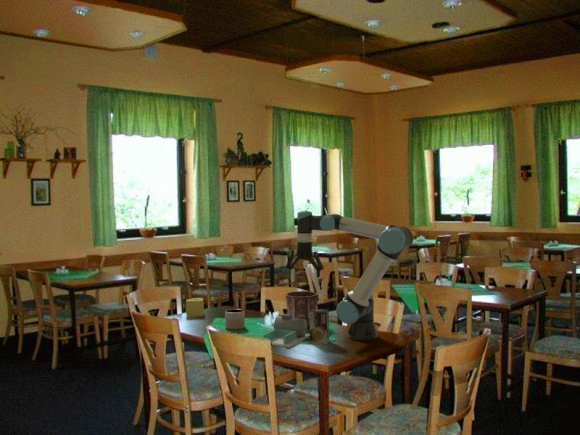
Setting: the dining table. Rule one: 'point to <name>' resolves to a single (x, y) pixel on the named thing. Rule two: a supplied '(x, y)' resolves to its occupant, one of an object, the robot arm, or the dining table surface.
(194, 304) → the cheese
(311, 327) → the coffee box
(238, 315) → the planter
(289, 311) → the pottery
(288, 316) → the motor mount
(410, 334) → the dining table surface
